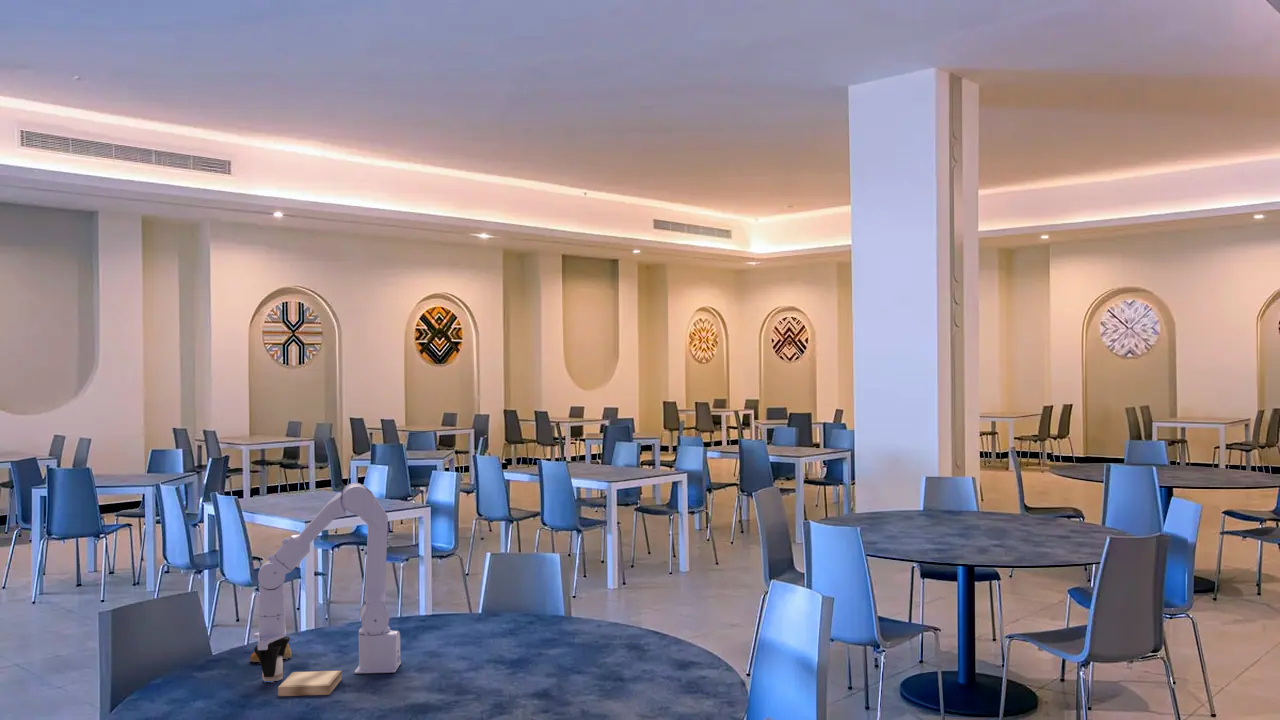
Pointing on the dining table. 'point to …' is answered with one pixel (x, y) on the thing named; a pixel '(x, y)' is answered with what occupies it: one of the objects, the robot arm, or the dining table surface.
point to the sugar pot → (276, 671)
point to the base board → (310, 683)
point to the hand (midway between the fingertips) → (272, 673)
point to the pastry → (286, 655)
